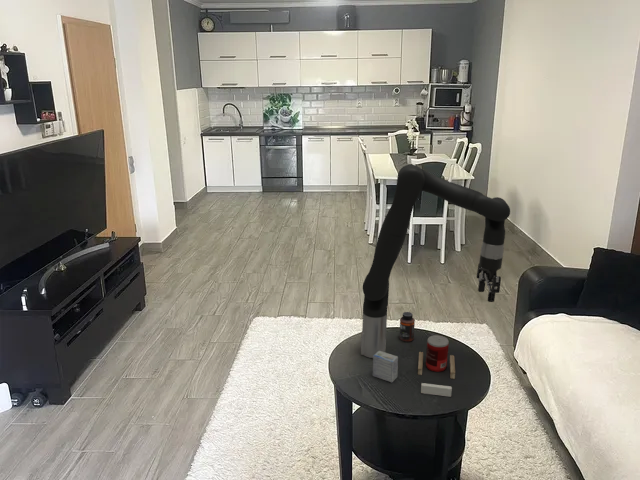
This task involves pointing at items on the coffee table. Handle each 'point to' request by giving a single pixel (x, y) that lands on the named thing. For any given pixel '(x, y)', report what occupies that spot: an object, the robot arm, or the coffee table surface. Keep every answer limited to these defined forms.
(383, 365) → the medicine box
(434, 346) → the canned food
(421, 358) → the wooden bars
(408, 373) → the coffee table surface
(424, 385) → the bar
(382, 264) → the robot arm
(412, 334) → the supplement bottle
